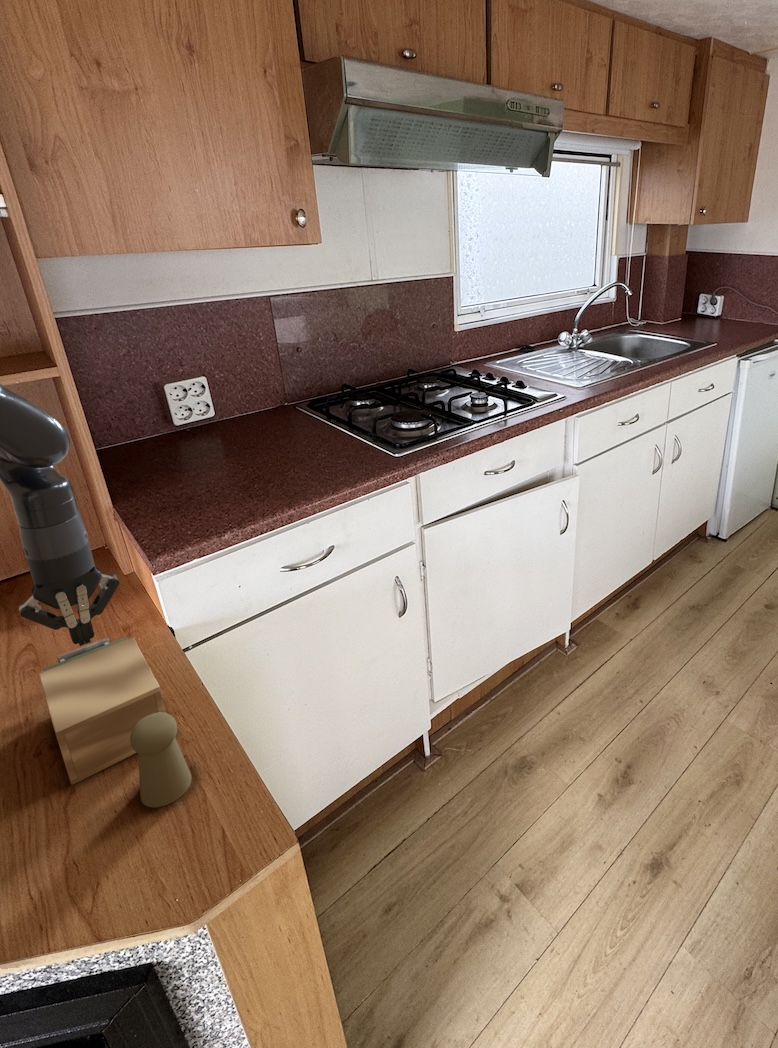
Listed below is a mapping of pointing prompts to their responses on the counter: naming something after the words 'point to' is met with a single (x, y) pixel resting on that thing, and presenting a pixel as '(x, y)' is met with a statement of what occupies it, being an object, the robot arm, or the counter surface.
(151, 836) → the counter surface
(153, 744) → the cork
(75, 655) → the drawer
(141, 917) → the counter surface
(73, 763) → the cabinet
